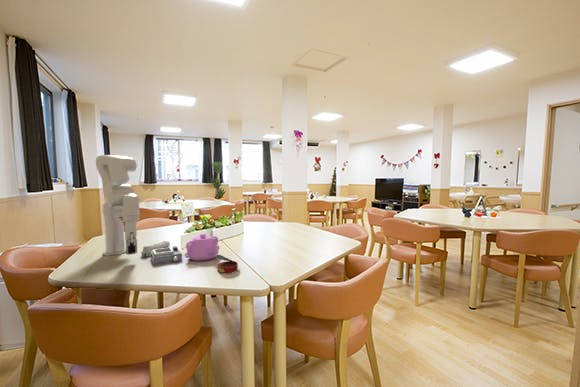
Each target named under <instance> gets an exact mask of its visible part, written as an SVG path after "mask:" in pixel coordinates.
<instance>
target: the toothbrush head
mask: <svg viewBox="0 0 580 387" xmlns="http://www.w3.org/2000/svg"><path fill="white" fill-rule="evenodd" d="M170 245H171V244H170V241H166V240H165V241H162V242H161V241H160V242H159V243H154V244H151V245H144V246H143V247H142V251H140V253H141V257H142V258H146V257H151V251H153V250H154V249H161V248H169V247H170Z"/></svg>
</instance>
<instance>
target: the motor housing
mask: <svg viewBox="0 0 580 387" xmlns="http://www.w3.org/2000/svg"><path fill="white" fill-rule="evenodd" d="M150 260H151V262H152V265H153V266H157V265H164V264H169V263H170V264H171V263H176V262H182V261H183V253H182V252H181V251H180V250H179V248H178V246H174V245H173V246H172V247H171V246H168V247H166V248H161V249H154V250H152V251H151V256H150Z"/></svg>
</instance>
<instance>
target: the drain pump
mask: <svg viewBox="0 0 580 387" xmlns="http://www.w3.org/2000/svg"><path fill="white" fill-rule="evenodd" d="M129 240H131V239H128V240H127V241H126V240H125V248H126V252H125V255H135V254H137V253H138V238H136V240H135V253H128V246H129ZM133 240H134V239H133ZM130 242H131V241H130Z"/></svg>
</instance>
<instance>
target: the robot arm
mask: <svg viewBox="0 0 580 387" xmlns="http://www.w3.org/2000/svg"><path fill="white" fill-rule="evenodd" d="M95 166H96V170H97V173H98V174H99V176H100V178H101V183H102V191H103V196H104V198H105V200H106V202H105V203H104V204H103V205H102V207H101V208H102V213H103V214H102V215H103V219H104V231H105V232H104V235H105V250H104V251H102V255H104V256H116V255H117V256H118V255H122V254H126V244H125V242H126V241H127V240H128V239H131V240H129V246H128V253H135V240H136V239H137V233H138V232H137V231H138V222H139V221H140V196H139V195H137V194H136V193H135V190H134V187H133V186H132V184H128V182H129V180H130V176H129V172H135V171H136V170H137V166H138V165H137V161H136V160H135V159H134V158H133V157H130V156H127V155H114V154H113V155H111V154H100V155H98V156H97V157H96V159H95ZM126 183H127V184H126ZM119 217H120V218H121V217H122V219H120V218H119ZM124 222H125V223H124ZM133 239H134V240H133ZM130 241H131V242H130Z"/></svg>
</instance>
